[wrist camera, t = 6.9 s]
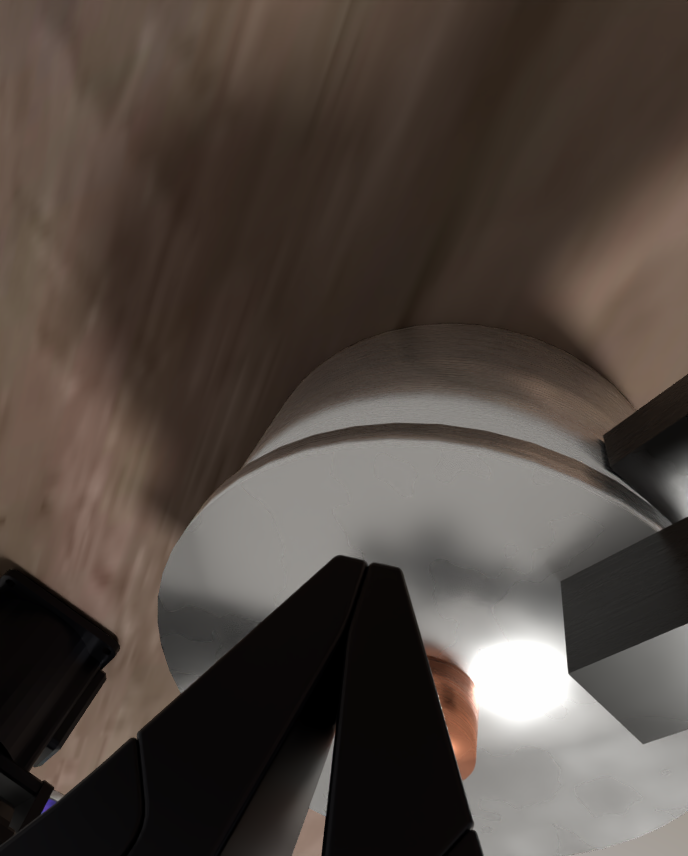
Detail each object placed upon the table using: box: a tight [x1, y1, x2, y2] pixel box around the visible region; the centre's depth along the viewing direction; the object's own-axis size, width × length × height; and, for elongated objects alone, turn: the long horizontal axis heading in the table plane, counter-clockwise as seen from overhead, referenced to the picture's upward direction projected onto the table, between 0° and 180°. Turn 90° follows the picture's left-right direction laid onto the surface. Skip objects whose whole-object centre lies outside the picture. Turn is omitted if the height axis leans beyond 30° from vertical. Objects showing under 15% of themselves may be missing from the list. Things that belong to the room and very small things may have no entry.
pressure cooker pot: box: [241, 323, 688, 524], centre depth 19 cm, size 25×14×6 cm, turn 141°
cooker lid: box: [158, 423, 688, 856], centre depth 14 cm, size 20×15×3 cm
